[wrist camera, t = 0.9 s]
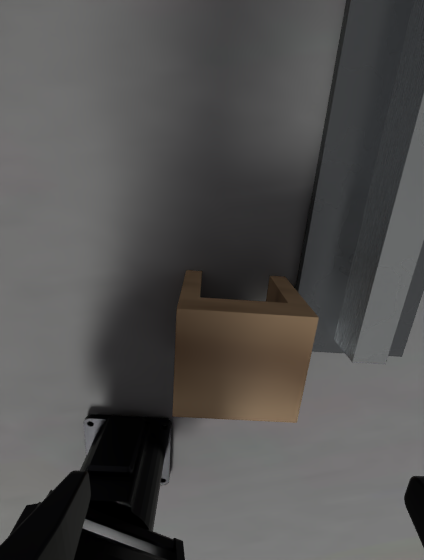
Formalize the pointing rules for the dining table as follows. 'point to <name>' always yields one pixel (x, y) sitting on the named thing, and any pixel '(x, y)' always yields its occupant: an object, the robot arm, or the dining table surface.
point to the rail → (369, 187)
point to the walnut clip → (242, 353)
